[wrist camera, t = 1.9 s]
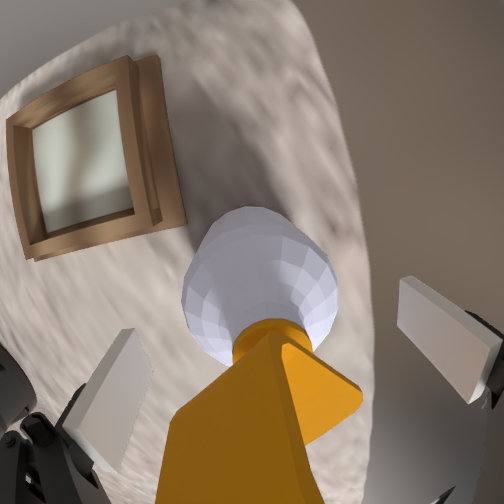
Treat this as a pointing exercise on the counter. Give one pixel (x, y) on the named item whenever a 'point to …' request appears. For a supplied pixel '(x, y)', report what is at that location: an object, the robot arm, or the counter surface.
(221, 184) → the counter surface
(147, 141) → the picture frame
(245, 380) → the orange capped white bottle
